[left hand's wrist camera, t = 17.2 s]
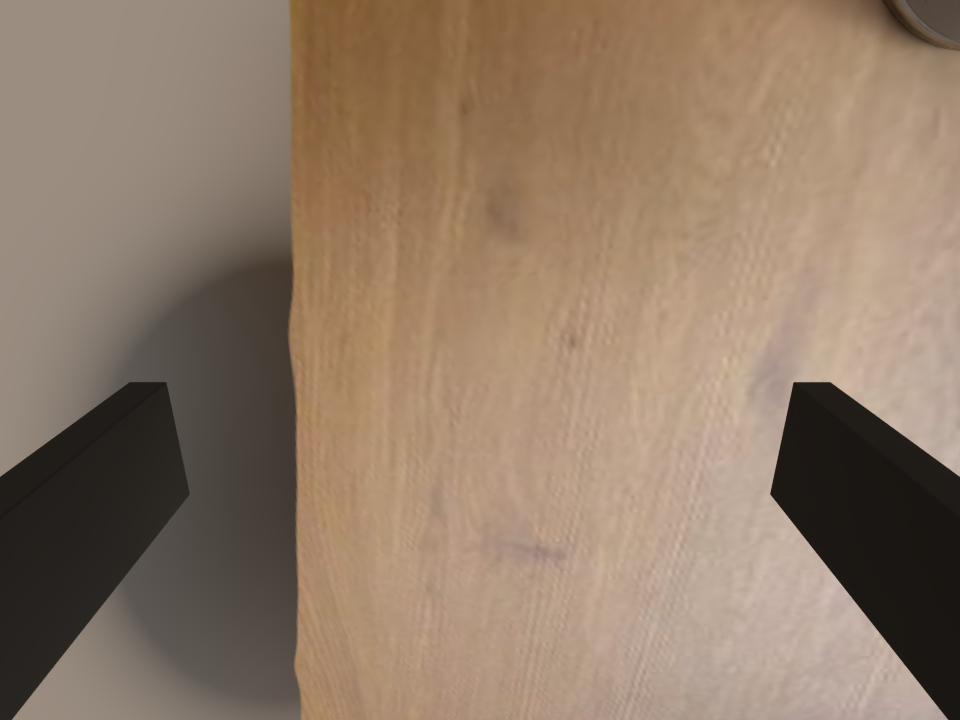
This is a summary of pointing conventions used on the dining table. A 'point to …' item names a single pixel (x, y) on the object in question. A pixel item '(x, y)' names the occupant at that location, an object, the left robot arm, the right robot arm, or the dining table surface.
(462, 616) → the dining table surface
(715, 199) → the dining table surface
